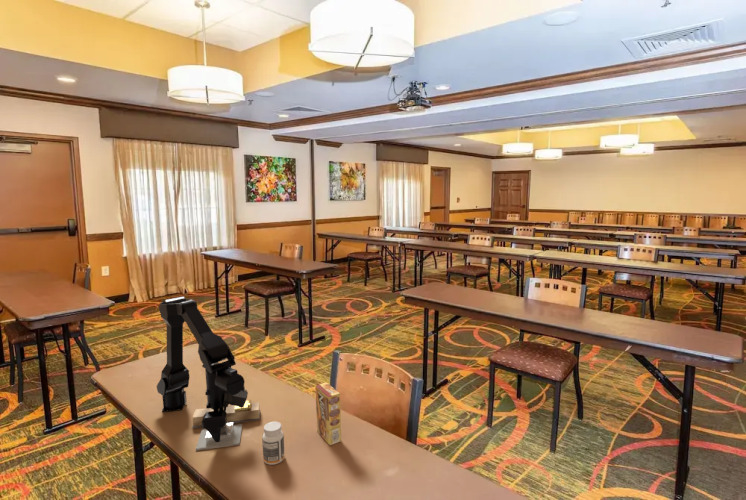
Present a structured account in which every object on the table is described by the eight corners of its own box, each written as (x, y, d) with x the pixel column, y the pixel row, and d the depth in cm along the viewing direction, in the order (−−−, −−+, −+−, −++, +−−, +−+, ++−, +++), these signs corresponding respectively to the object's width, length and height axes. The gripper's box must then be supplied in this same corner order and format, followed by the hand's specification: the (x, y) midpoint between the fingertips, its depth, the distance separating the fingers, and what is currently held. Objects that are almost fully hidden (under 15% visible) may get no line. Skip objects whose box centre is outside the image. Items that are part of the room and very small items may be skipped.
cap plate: (206, 443, 120) (205, 437, 120) (209, 431, 127) (209, 425, 126) (231, 440, 122) (230, 434, 122) (233, 428, 128) (233, 422, 128)
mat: (195, 450, 118) (195, 448, 118) (202, 431, 128) (201, 429, 128) (239, 444, 121) (239, 442, 121) (242, 426, 131) (242, 424, 130)
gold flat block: (250, 409, 133) (234, 411, 132) (251, 402, 137) (236, 404, 136) (250, 406, 133) (234, 408, 132) (251, 399, 137) (235, 401, 136)
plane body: (192, 428, 129) (191, 418, 129) (195, 419, 135) (195, 409, 134) (259, 420, 134) (259, 410, 133) (260, 411, 139) (259, 401, 139)
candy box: (342, 441, 122) (341, 393, 120) (329, 446, 120) (328, 397, 118) (328, 427, 129) (327, 381, 127) (316, 432, 127) (314, 385, 125)
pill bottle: (273, 450, 118) (272, 418, 117) (288, 456, 115) (287, 423, 114) (259, 461, 113) (257, 428, 112) (274, 468, 110) (272, 434, 109)
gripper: (242, 396, 115) (245, 447, 117) (247, 368, 133) (249, 413, 135) (199, 400, 112) (203, 453, 114) (210, 371, 130) (213, 417, 133)
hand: (219, 432), depth 124 cm, fingers open, 9 cm apart
